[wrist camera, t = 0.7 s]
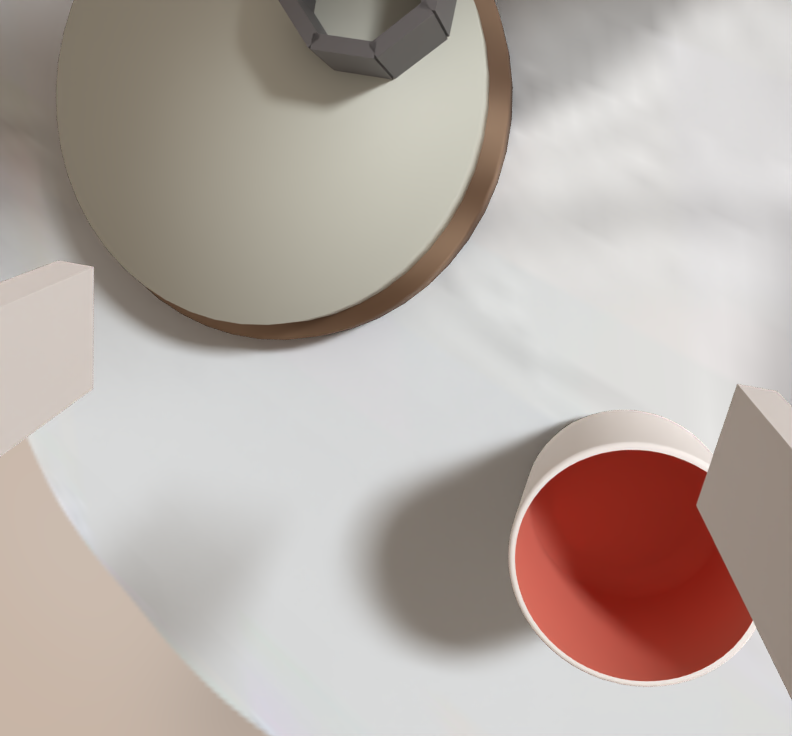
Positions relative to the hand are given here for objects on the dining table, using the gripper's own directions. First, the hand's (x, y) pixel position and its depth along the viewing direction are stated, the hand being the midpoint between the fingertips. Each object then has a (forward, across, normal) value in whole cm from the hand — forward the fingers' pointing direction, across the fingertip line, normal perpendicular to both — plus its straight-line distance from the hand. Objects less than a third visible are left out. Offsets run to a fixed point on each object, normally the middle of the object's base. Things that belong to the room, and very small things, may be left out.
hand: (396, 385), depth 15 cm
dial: (+27, -10, +4) cm, 29 cm away
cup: (+22, +11, -13) cm, 28 cm away
